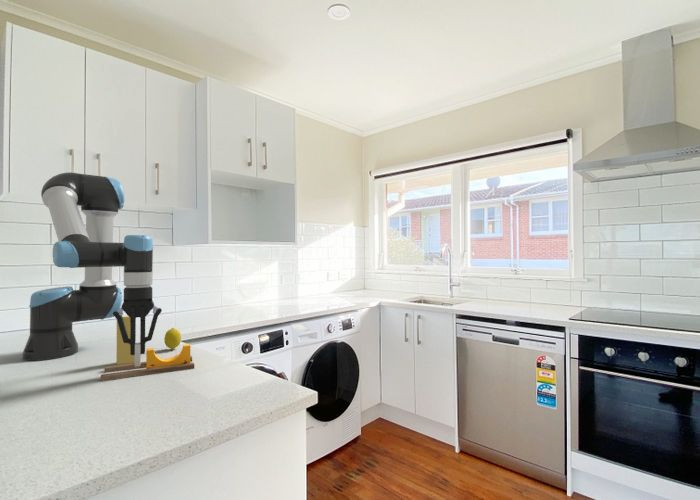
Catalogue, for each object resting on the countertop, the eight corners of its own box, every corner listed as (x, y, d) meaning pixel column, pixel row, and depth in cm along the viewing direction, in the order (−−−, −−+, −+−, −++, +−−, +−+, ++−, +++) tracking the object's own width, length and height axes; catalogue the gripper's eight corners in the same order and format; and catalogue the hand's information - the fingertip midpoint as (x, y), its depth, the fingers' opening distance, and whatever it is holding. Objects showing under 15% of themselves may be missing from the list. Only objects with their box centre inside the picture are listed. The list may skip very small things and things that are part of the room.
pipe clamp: (189, 363, 118) (189, 342, 118) (190, 366, 114) (190, 345, 114) (146, 368, 112) (146, 347, 112) (146, 372, 109) (146, 350, 109)
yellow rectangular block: (117, 362, 120) (117, 316, 120) (135, 360, 122) (135, 314, 122) (116, 365, 116) (116, 317, 117) (134, 362, 119) (134, 316, 119)
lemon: (172, 352, 132) (172, 329, 132) (160, 350, 134) (160, 328, 134) (184, 348, 137) (184, 326, 137) (172, 347, 139) (172, 326, 139)
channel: (105, 370, 111) (105, 366, 111) (191, 359, 122) (191, 356, 122) (100, 380, 101) (100, 376, 101) (194, 368, 113) (194, 364, 113)
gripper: (162, 284, 117) (162, 359, 116) (114, 286, 111) (113, 365, 110) (162, 286, 110) (162, 365, 110) (111, 288, 104) (110, 371, 104)
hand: (137, 365), depth 110 cm, fingers closed
